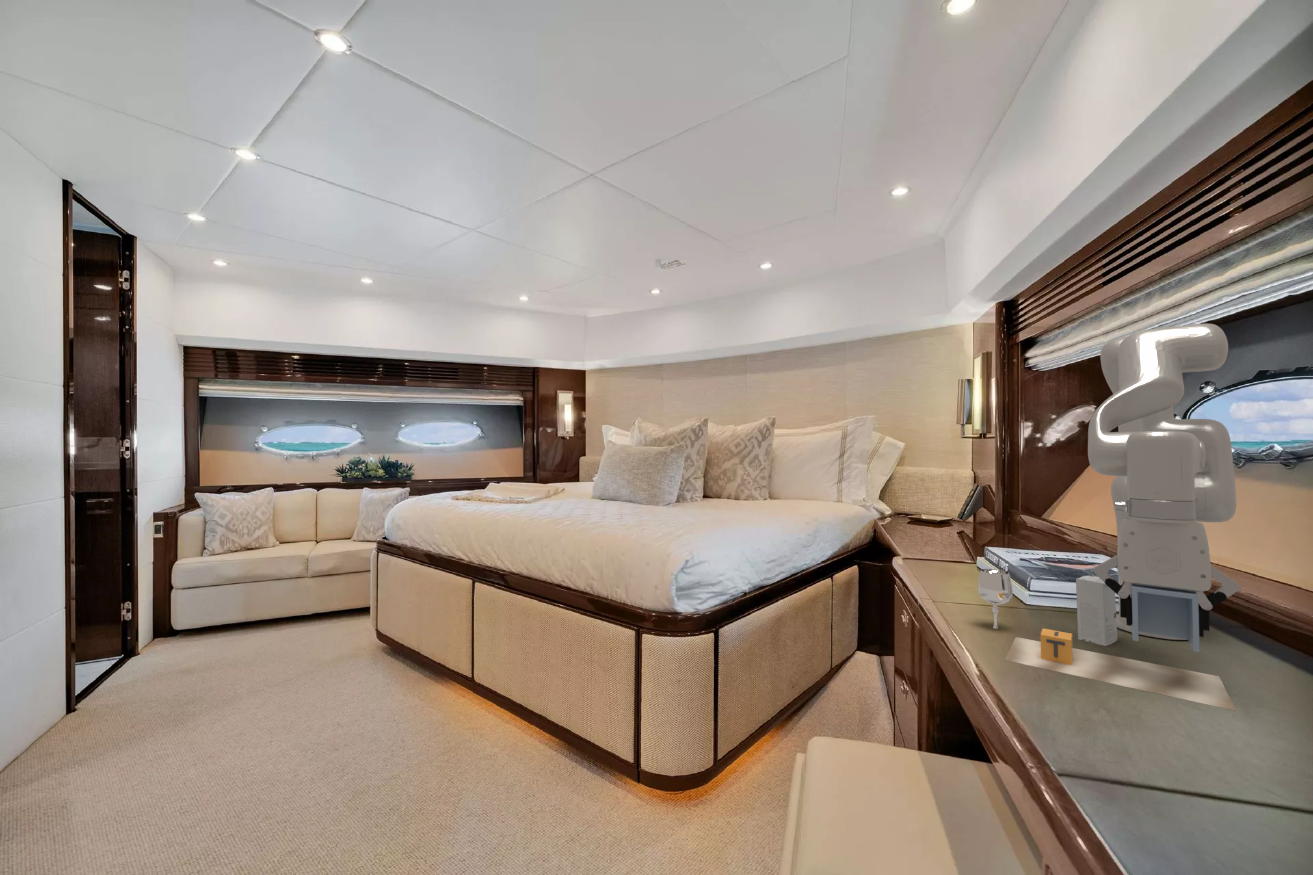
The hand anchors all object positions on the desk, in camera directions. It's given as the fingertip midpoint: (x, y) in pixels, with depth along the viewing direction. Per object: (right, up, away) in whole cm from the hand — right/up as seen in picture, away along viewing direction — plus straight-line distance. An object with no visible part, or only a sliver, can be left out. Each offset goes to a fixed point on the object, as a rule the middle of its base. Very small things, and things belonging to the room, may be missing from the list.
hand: (1163, 627), depth 80 cm
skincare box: (+4, -9, +17) cm, 20 cm away
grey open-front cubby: (0, -2, 0) cm, 2 cm away
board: (-5, -9, +4) cm, 11 cm away
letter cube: (-10, -8, +8) cm, 15 cm away
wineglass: (-11, -10, +23) cm, 27 cm away
